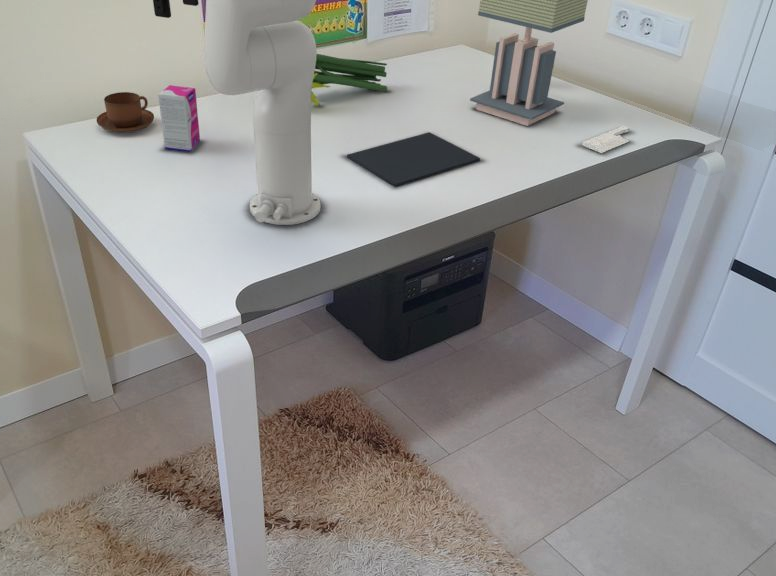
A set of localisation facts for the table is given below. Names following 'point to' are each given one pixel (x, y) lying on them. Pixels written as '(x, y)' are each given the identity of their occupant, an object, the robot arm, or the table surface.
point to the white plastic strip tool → (607, 140)
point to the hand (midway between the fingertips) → (177, 10)
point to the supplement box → (179, 118)
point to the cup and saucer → (125, 113)
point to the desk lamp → (525, 58)
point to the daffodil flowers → (355, 69)
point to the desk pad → (412, 158)
